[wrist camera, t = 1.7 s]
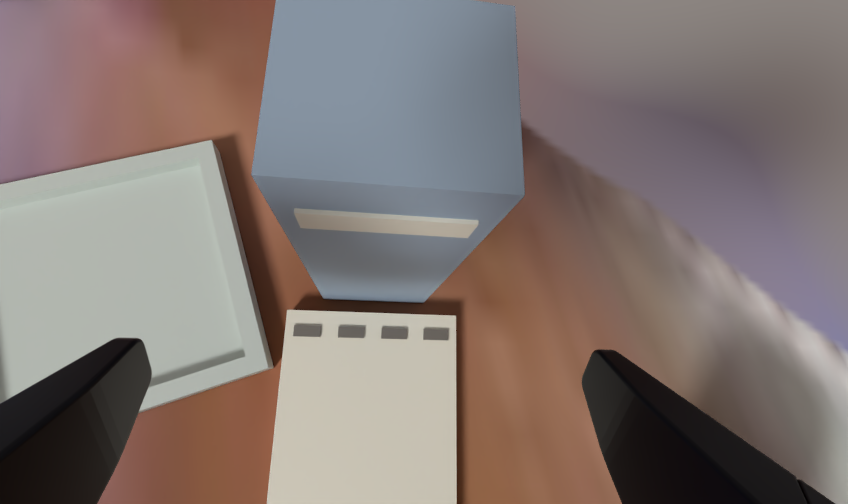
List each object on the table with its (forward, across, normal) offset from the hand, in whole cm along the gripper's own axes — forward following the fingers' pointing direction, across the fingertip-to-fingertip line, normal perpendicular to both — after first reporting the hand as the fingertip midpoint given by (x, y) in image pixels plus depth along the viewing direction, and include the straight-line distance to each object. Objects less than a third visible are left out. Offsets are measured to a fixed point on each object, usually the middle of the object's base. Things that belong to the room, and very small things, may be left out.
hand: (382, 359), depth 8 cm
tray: (+11, +12, +6) cm, 17 cm away
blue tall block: (+12, 0, +5) cm, 13 cm away
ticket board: (+4, 0, +13) cm, 14 cm away
